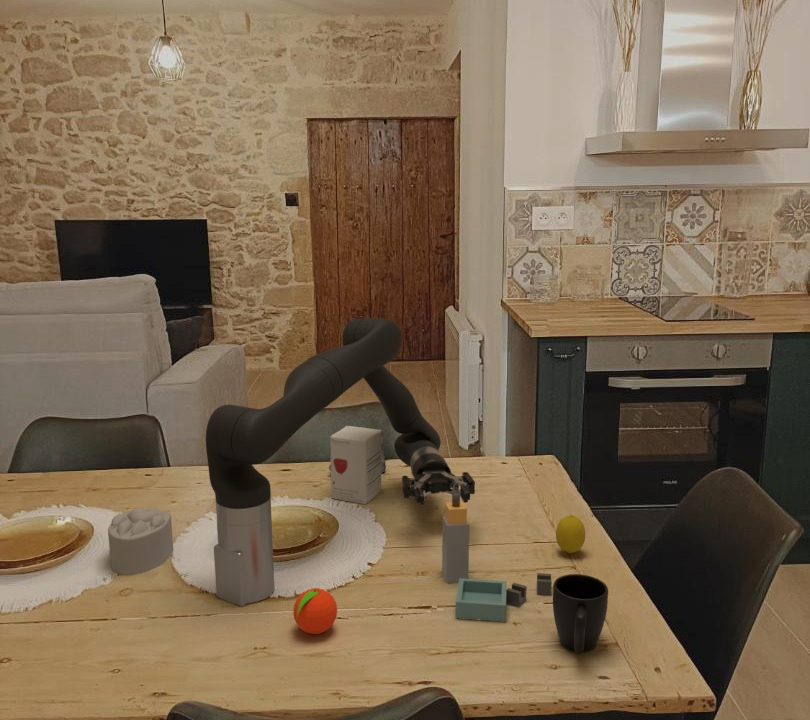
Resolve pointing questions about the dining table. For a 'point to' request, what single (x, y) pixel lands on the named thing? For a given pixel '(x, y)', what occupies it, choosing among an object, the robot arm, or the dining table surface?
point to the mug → (579, 610)
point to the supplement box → (356, 464)
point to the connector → (455, 541)
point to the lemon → (570, 534)
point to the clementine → (315, 611)
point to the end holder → (481, 599)
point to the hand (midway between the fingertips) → (444, 499)
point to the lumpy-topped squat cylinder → (140, 540)
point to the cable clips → (519, 591)
